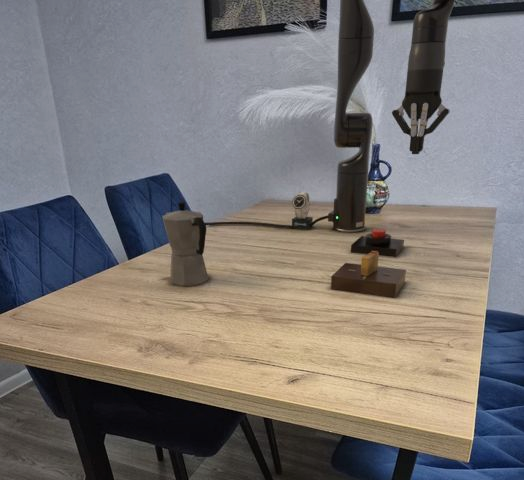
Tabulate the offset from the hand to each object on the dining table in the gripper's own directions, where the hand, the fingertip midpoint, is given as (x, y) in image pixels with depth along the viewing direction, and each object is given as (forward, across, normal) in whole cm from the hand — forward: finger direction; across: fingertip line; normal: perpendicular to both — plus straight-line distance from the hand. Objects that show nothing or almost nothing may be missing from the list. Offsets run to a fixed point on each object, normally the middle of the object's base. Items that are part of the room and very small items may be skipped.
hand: (415, 153), depth 111 cm
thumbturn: (+22, -3, -24) cm, 33 cm away
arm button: (+21, -8, +4) cm, 23 cm away
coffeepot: (+25, -42, -36) cm, 61 cm away
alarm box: (+25, -8, +4) cm, 27 cm away
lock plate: (+25, -3, -24) cm, 35 cm away
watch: (+25, -37, +21) cm, 49 cm away
